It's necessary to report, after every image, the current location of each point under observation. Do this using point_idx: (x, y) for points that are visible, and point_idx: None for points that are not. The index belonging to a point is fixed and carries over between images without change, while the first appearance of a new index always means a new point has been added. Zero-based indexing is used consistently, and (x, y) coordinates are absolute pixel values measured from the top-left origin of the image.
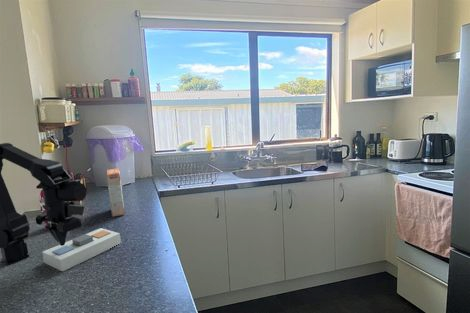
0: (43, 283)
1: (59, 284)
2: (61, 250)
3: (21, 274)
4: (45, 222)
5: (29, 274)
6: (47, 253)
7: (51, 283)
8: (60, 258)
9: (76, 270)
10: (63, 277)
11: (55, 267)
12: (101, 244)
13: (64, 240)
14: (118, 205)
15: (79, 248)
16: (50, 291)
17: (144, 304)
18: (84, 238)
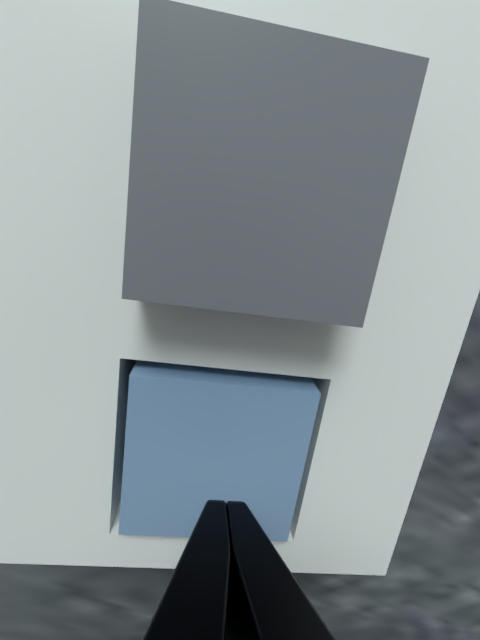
0: (343, 596)
1: (452, 567)
2: (216, 483)
3: (77, 605)
4: None
5: (135, 586)
6: (102, 559)
7: (393, 579)
8: (359, 561)
9: (433, 439)
10: (413, 520)
11: None
12: None
13: (279, 573)
14: None
15: (379, 355)
16: (456, 614)
17: None
18: (332, 191)
